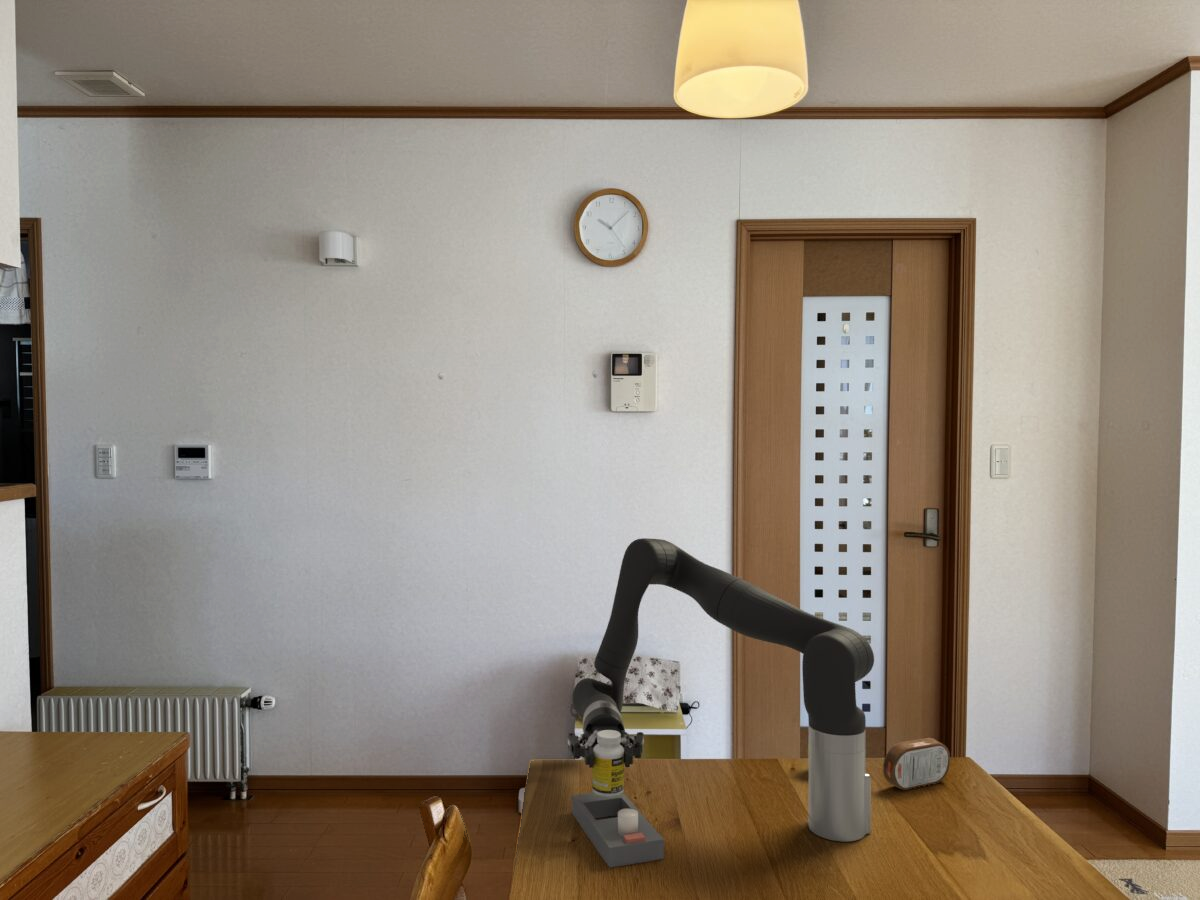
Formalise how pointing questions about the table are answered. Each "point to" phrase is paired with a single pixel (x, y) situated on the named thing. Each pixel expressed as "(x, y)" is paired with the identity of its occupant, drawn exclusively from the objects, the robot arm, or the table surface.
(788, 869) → the table surface
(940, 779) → the tin
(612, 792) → the supplement bottle
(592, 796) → the grey square-hole tray
